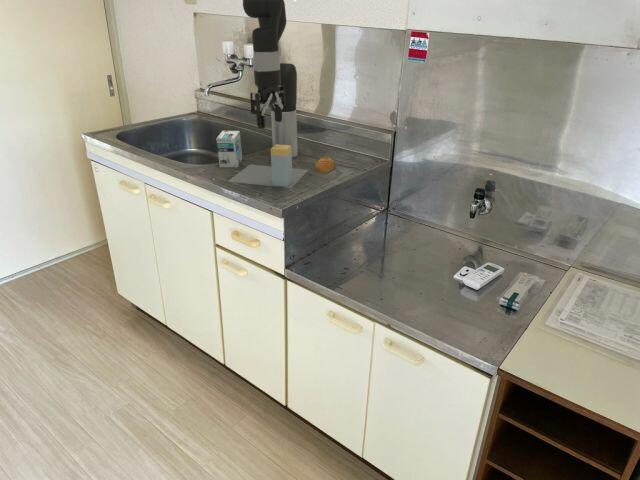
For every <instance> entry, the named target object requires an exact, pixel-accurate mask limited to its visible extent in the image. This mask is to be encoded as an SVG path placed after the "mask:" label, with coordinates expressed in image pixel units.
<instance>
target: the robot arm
mask: <svg viewBox="0 0 640 480" xmlns="http://www.w3.org/2000/svg"><path fill="white" fill-rule="evenodd" d="M242 8H243V10H244V13H245V14H246V15H247V16H248V17H249V18H253V19H258V25H259V26H258V27H256V28H254V29H253V30H252V33H251V35H252V36H251V37H252V38H251V39H252V49H253V50H252V51H253V52H252V53H253V54H252V55H253V56H252V61H253V62H252V65H253V77H254V78H253V79H254V85H255V86H256V87H257V92H250V95H249V96H250V97H249V98H250V113H251V115H256V124H257V125H256V126H257V128H258V129H265V128H266V117H265V113H266V110H267V109H268V108H269V106H270V114H271V115H270V117H271V133H272V134H271V136H272V147H274V146H275V145H276V144H278V145H290V146H291V153H292V159H293V158H296V157H297V156H298V126H297V125H298V124H297V123H298V120H297V98H298V97H297V92H298V87H297V86H298V74H297V68H296V66H295V64H294V63H285V62H284V63H283V62H281V58H280V53H279V42H280V40H281V38H282V36H283V33H284V32H285V29H286V26H287V13H286V4H285V0H242Z"/></svg>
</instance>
